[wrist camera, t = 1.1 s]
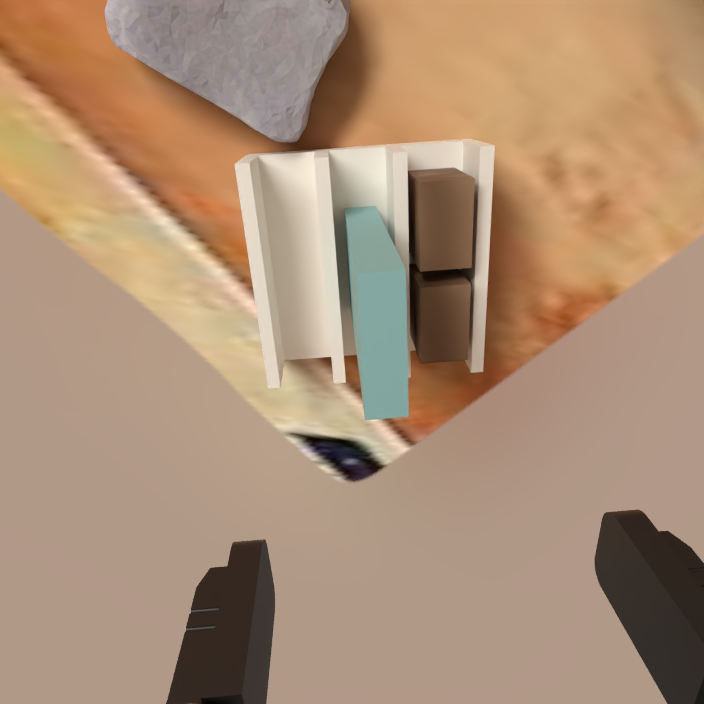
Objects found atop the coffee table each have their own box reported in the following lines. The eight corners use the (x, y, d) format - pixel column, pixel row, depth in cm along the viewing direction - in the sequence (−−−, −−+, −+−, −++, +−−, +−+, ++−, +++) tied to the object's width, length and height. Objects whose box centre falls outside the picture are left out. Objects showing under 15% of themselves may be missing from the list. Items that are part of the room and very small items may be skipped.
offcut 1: (454, 167, 33) (474, 178, 29) (452, 246, 35) (471, 267, 31) (406, 170, 33) (419, 182, 29) (407, 249, 35) (420, 271, 31)
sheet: (375, 205, 34) (406, 269, 21) (379, 307, 37) (408, 416, 24) (344, 208, 34) (356, 273, 21) (350, 310, 37) (365, 420, 24)
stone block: (177, -123, 29) (107, 52, 31) (164, -182, 25) (82, 27, 26) (363, 5, 33) (291, 157, 34) (381, -25, 28) (296, 151, 30)
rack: (469, 138, 34) (494, 145, 29) (463, 337, 40) (483, 371, 35) (247, 154, 34) (234, 163, 29) (275, 352, 40) (268, 388, 35)
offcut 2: (452, 260, 36) (470, 284, 31) (450, 328, 38) (468, 359, 33) (407, 264, 36) (420, 288, 31) (409, 331, 38) (420, 363, 33)
